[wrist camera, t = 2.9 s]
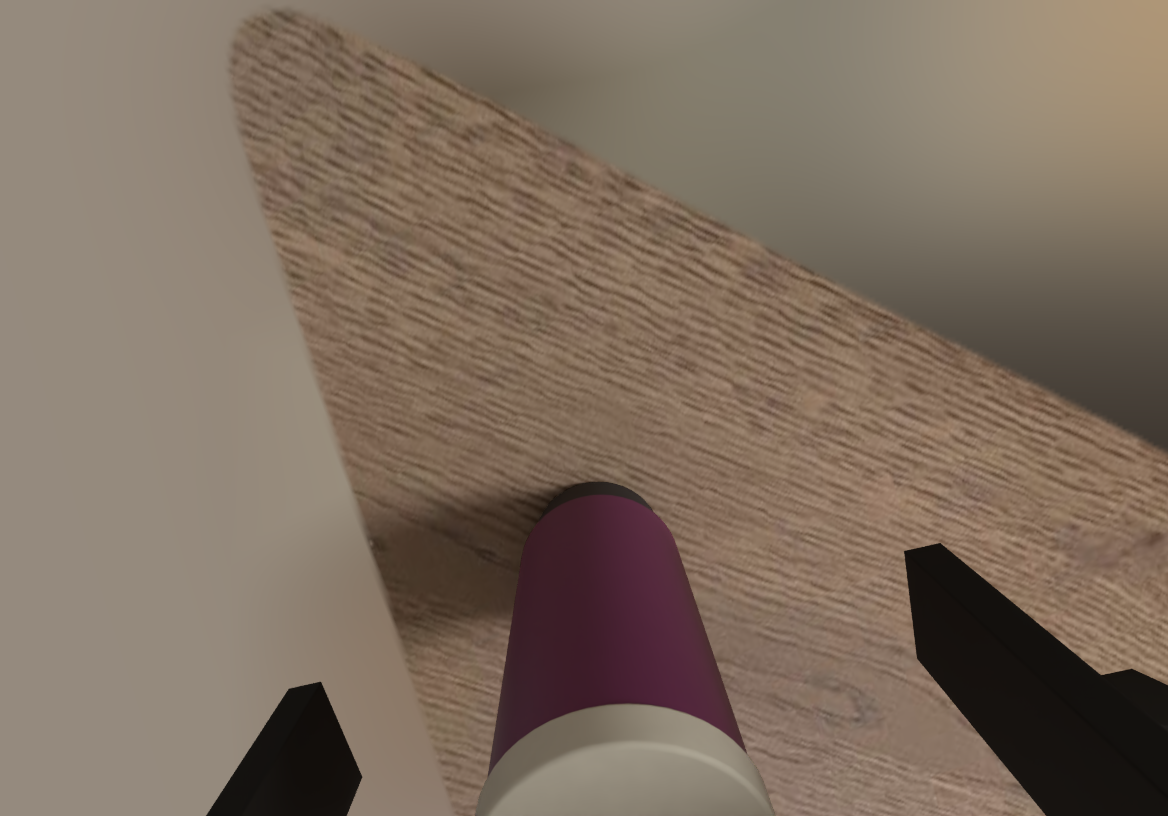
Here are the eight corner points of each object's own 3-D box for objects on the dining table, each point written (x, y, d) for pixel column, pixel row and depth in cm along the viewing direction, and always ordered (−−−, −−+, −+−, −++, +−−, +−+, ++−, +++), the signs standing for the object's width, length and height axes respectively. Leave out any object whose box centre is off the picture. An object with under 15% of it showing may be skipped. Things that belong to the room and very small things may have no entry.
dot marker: (504, 488, 18) (424, 785, 8) (655, 452, 18) (756, 712, 8) (544, 618, 19) (517, 1007, 9) (686, 585, 19) (806, 950, 9)
